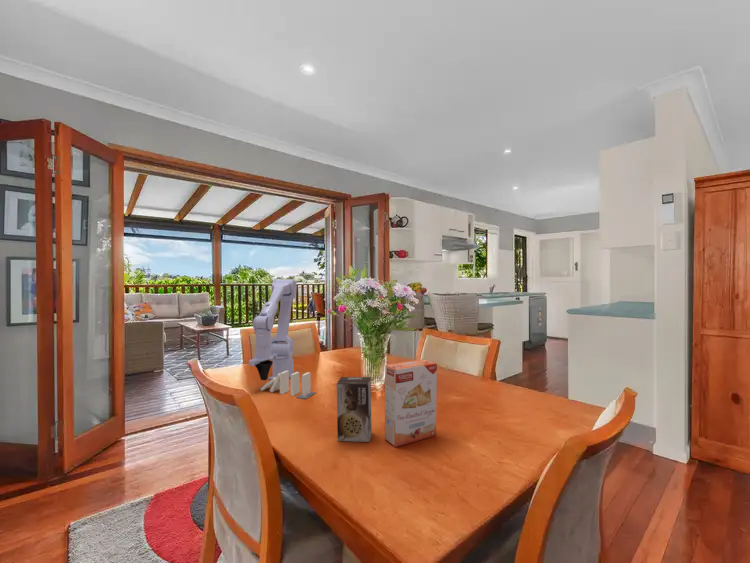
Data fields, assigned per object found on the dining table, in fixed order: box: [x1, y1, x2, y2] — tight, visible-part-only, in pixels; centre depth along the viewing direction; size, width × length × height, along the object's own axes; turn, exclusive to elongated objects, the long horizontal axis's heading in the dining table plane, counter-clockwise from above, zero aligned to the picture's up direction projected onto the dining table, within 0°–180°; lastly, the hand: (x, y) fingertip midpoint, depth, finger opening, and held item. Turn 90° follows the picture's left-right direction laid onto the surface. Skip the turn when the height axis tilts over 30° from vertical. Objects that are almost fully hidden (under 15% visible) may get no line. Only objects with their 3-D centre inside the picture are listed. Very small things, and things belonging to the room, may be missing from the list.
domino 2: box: [269, 372, 282, 393], centre depth 138 cm, size 4×1×8 cm, turn 158°
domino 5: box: [301, 371, 312, 397], centre depth 133 cm, size 4×1×8 cm, turn 158°
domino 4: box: [290, 371, 300, 397], centre depth 135 cm, size 4×1×8 cm, turn 158°
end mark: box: [296, 391, 317, 400], centre depth 133 cm, size 7×4×1 cm, turn 158°
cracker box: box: [384, 358, 438, 448], centre depth 98 cm, size 14×6×21 cm, turn 120°
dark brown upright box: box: [335, 376, 373, 443], centre depth 99 cm, size 9×6×16 cm
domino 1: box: [259, 377, 276, 392], centre depth 139 cm, size 4×1×8 cm
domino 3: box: [279, 371, 290, 395], centre depth 136 cm, size 4×1×8 cm, turn 158°
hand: (263, 379), depth 140 cm, fingers closed
